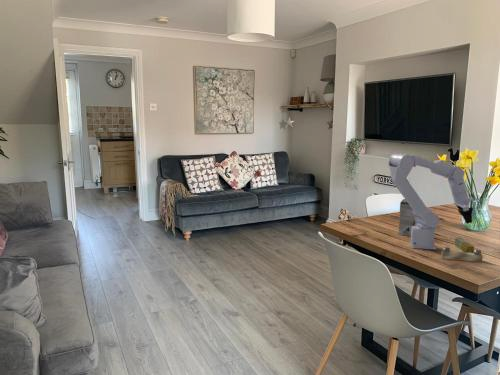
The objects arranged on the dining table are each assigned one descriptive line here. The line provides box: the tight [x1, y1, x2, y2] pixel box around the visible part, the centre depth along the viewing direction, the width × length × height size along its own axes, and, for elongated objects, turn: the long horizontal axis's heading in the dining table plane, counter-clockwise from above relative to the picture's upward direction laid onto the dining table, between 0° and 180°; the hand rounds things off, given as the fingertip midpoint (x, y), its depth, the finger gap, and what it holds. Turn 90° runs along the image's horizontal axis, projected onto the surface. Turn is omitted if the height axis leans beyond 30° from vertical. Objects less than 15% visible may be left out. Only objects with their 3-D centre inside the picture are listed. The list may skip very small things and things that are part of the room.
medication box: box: [454, 237, 475, 253], centre depth 165 cm, size 12×3×4 cm, turn 175°
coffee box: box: [398, 198, 416, 237], centre depth 189 cm, size 9×6×16 cm
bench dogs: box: [442, 246, 482, 255], centre depth 154 cm, size 13×2×4 cm, turn 72°
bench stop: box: [441, 249, 483, 263], centre depth 154 cm, size 14×2×2 cm, turn 72°
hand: (467, 219), depth 172 cm, fingers open, 7 cm apart
